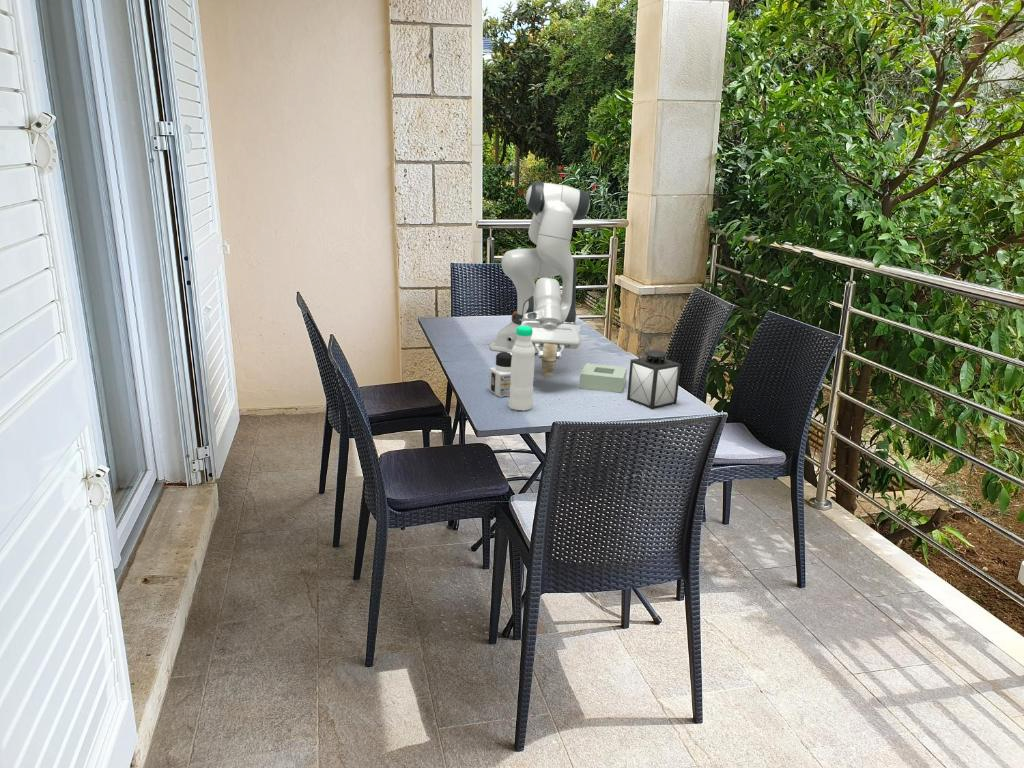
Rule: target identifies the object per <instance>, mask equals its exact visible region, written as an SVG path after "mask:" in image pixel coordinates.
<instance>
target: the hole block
mask: <svg viewBox="0 0 1024 768" xmlns="http://www.w3.org/2000/svg"><path fill="white" fill-rule="evenodd" d="M627 372H628V367H627V366H626V367H625V366H617V365H608V364H607V365H606V364H600V363H587V362H586V363H585V365H584V367H583V369H582V370H581V372H580V374H579V389H581V388H582V390H583V389H584V390H591V389H593V390H592V391H600V390H602V391H603V392H609V391H610V393H618V392H621V393H620V394H622V393H623V391H624V388H625V385H626V381H627V374H628V373H627Z"/></svg>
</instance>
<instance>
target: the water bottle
mask: <svg viewBox="0 0 1024 768" xmlns="http://www.w3.org/2000/svg"><path fill="white" fill-rule="evenodd" d="M516 333H517V336H518V339H517V340H516V342H515V345H514V346H513V348H512V359H511V376H510V379H511V385H510V396H509V400H508V406H509V409H511V410H513V409H515V410H514V411H516V410H527V411H529V410H528V409H530V410H532V408H533V395H534V386H533V385H534V379H535V355H536V354H535V349H534V346H533V343H532V341H531V336H532V333H533V329H532V328H531V327H528V326H519V327H517V330H516Z"/></svg>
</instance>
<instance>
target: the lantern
mask: <svg viewBox="0 0 1024 768" xmlns="http://www.w3.org/2000/svg"><path fill="white" fill-rule="evenodd" d="M654 317H664V318H666V319H668V320H669V321H670V322H671V323H672V326H673V330H674V332H676V327H675V324H674V323H673V321H672V320H671V319H670V318H669V317H667V316H665V315H662V314H661V315H659V314H657V315H652V316H650V317H648V318H647V319H646V320H645V321H644V323H643V324H642V327H641V331H640V334H642V333H643V329H644V326H645V324H646V322H647V321H648V320H649V319H651V318H654ZM639 338H640V339H639V346H641V343H642V342H641V341H642V335H640V337H639ZM675 345H676V340H674V341H673V350H675V347H676V346H675ZM638 355H639V356H638V358H634V359H630V362H629V363H630V364H629V372H628V373H629V375H628V385H627V394H626V395H627V396H626V400H627V401H629V400H630V402H632V401H633V403H635V404H637V403H638V405H640V406H642V405H643V406H642V407H645V408H648V409H650V410H656V409H659V408H664V407H668V406H672V404H673V405H674V404H675V405H677V403H678V402H677V401H678V391H679V383H680V382H679V381H680V374H681V367H682V366H681V365H682V364H681V363H679V362H676V361H675V360H674V359H675V352H673V353H672V355H673V356H672V360H670V359H667V358H666V357H668V356H669V355H668V354H667V353H666V352H665V351H663V350H658V349H650V350H649V349H648V351H646V352H645V353H644V355H645V357H641V353H639V354H638Z"/></svg>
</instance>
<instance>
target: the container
mask: <svg viewBox="0 0 1024 768" xmlns="http://www.w3.org/2000/svg"><path fill="white" fill-rule="evenodd" d="M511 359H512V353H510V352H503V351H500V352H499V353H497V354H496V355H495V366H494V367H490V368H489V381H488V382H489V385H488V391H489V392H491V394H493V395H495V396H497V397H498V396H499V397H498V398H504V397H503V396H507V397H510V385H511V379H510V376H511Z"/></svg>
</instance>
